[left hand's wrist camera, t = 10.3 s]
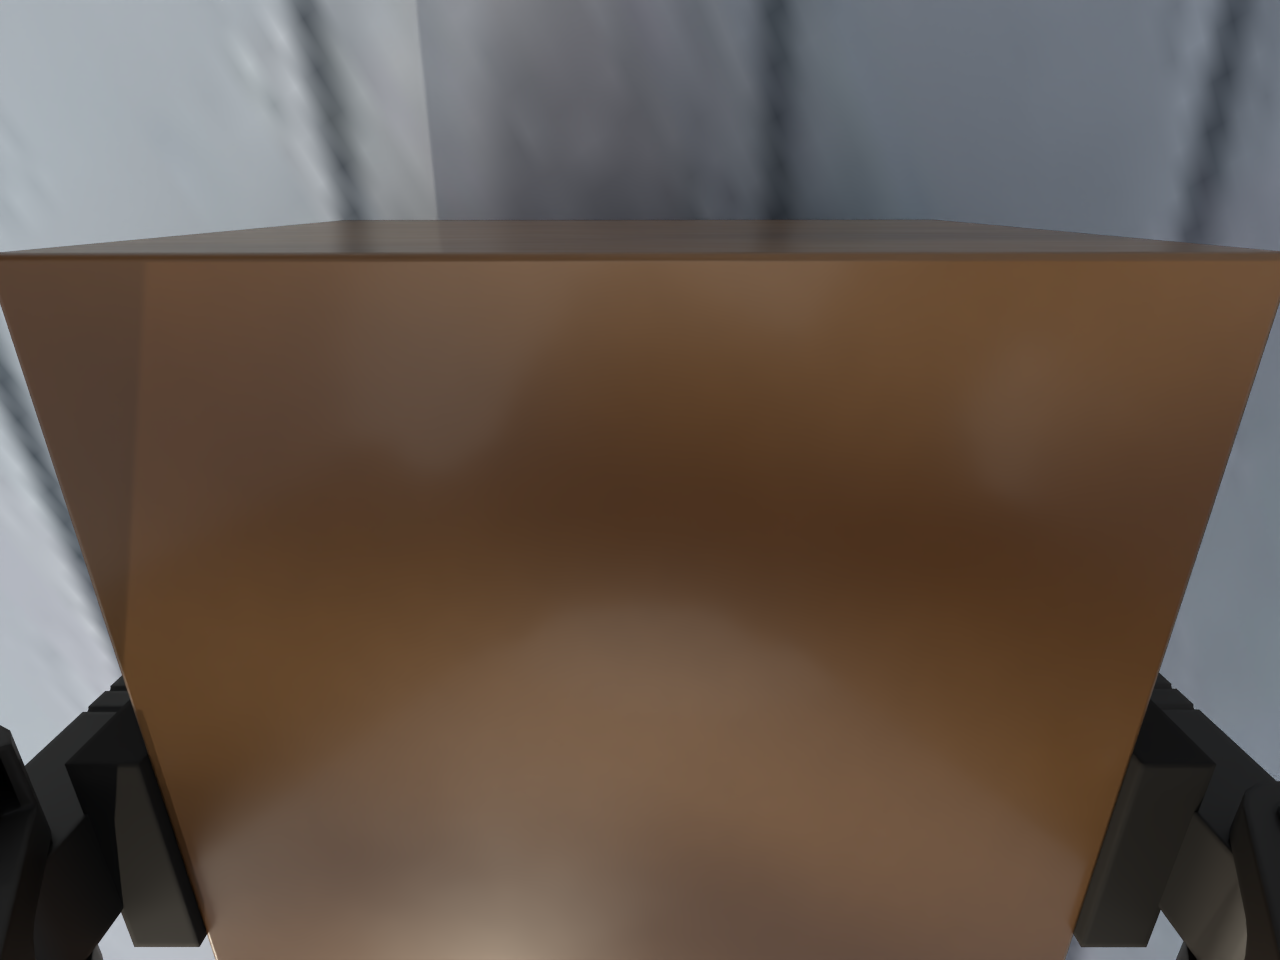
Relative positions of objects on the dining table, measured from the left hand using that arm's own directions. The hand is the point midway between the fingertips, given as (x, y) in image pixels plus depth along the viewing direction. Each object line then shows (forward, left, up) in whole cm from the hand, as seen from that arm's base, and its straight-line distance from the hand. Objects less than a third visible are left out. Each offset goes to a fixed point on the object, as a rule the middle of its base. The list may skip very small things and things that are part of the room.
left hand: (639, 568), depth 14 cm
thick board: (-3, +31, -1) cm, 31 cm away
